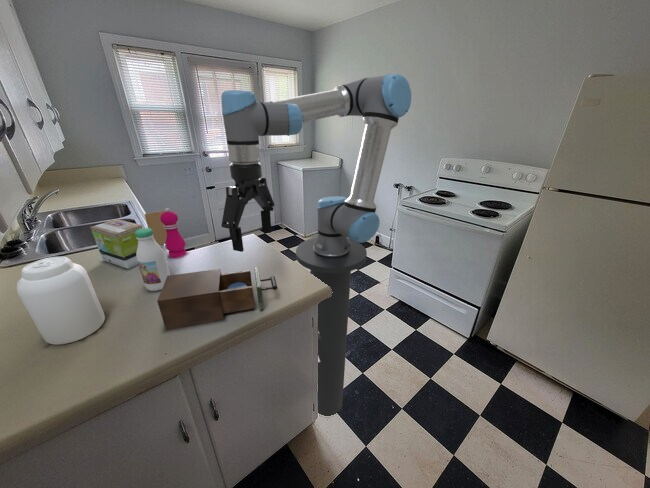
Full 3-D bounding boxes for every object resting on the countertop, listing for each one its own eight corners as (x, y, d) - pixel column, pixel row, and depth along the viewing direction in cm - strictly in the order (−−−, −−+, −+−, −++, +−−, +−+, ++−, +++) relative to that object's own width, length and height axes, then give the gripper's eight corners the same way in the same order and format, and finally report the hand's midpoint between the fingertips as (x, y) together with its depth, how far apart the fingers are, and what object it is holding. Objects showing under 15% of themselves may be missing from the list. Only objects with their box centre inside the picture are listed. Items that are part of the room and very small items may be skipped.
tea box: (101, 261, 105) (88, 226, 99) (127, 251, 113) (116, 218, 107) (127, 269, 100) (115, 232, 94) (152, 258, 108) (142, 223, 102)
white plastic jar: (30, 345, 67) (-12, 276, 58) (75, 312, 78) (46, 250, 69) (79, 347, 66) (44, 278, 58) (117, 314, 77) (92, 252, 69)
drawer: (274, 285, 90) (273, 265, 87) (279, 306, 80) (278, 284, 77) (216, 294, 85) (212, 273, 82) (214, 317, 75) (210, 294, 72)
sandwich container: (169, 231, 134) (162, 201, 128) (175, 241, 123) (167, 210, 116) (149, 234, 129) (141, 204, 123) (153, 246, 118) (144, 213, 112)
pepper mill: (163, 257, 109) (151, 209, 101) (177, 249, 116) (166, 204, 107) (178, 259, 108) (167, 211, 99) (191, 251, 114) (181, 206, 105)
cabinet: (224, 294, 87) (220, 268, 83) (223, 320, 76) (218, 291, 72) (174, 302, 83) (167, 275, 79) (165, 330, 72) (156, 301, 68)
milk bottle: (162, 276, 96) (147, 224, 87) (177, 282, 93) (163, 228, 84) (140, 287, 89) (122, 232, 81) (155, 294, 86) (138, 237, 78)
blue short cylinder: (248, 291, 85) (246, 281, 83) (249, 302, 80) (247, 291, 78) (229, 294, 83) (227, 283, 82) (229, 305, 79) (227, 294, 77)
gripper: (260, 155, 78) (266, 223, 87) (194, 169, 57) (211, 257, 66) (283, 157, 76) (286, 227, 85) (223, 171, 55) (236, 262, 64)
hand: (253, 240), depth 76 cm, fingers open, 13 cm apart
